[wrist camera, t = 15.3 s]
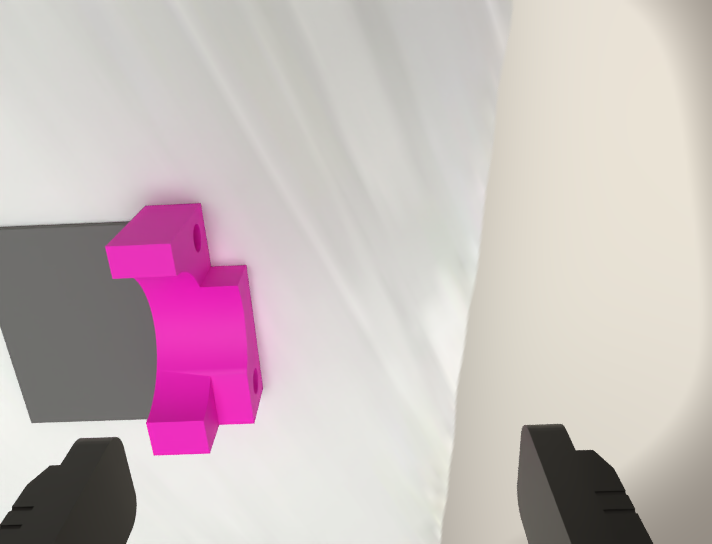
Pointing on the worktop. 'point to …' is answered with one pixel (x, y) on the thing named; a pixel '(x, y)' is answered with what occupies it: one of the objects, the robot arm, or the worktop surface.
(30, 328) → the rubber mat
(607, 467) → the robot arm
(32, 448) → the worktop surface
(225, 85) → the worktop surface
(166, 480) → the worktop surface
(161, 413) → the magenta pipe clamp
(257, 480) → the worktop surface
